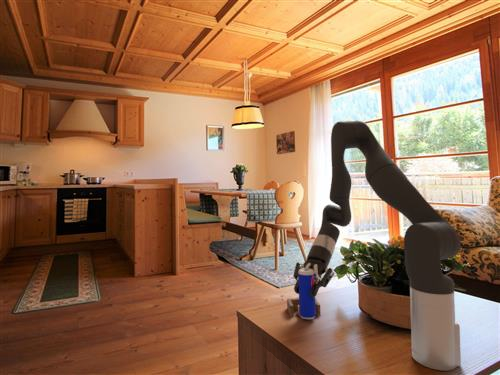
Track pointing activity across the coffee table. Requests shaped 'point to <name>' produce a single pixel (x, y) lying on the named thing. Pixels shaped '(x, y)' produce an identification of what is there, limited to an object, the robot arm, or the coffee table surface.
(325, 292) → the coffee table surface
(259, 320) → the coffee table surface
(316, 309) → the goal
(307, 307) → the beverage can
